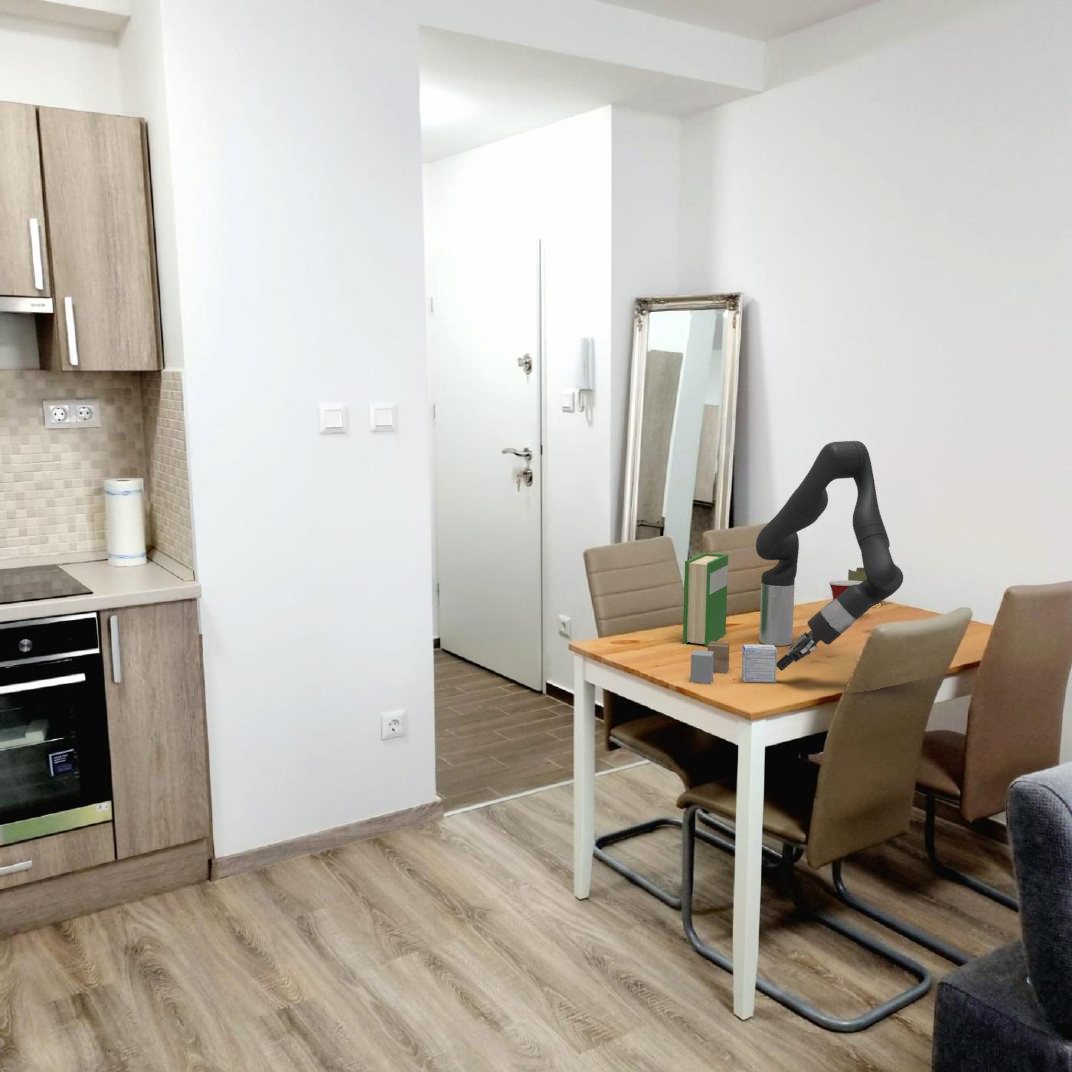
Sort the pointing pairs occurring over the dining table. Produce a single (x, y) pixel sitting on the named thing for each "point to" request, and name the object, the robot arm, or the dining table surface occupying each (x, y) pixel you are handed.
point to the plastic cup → (841, 586)
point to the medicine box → (759, 663)
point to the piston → (857, 575)
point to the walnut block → (720, 656)
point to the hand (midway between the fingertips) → (778, 667)
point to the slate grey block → (702, 666)
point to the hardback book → (705, 598)
